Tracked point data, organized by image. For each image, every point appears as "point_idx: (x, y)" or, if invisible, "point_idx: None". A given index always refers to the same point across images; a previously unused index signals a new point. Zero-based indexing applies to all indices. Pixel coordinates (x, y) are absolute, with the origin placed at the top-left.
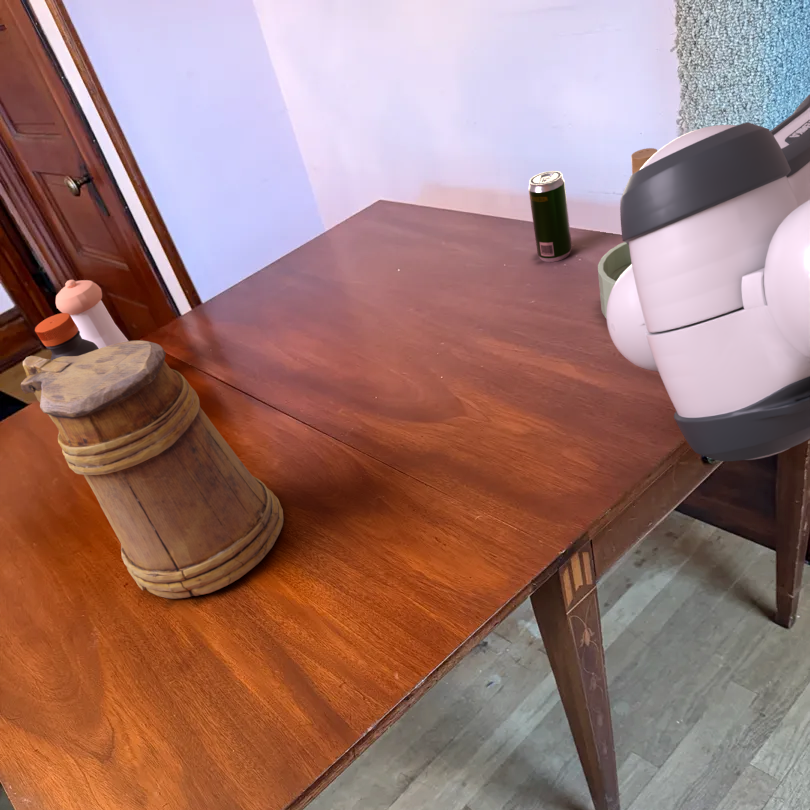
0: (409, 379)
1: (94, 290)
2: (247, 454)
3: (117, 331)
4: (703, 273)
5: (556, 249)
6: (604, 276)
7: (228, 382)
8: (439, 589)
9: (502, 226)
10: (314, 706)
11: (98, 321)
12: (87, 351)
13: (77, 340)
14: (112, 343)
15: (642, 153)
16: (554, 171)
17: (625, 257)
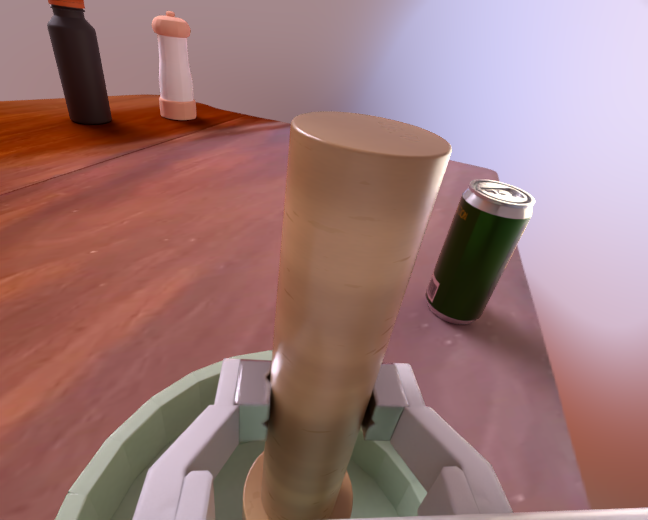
0: (106, 227)
1: (170, 24)
2: (13, 159)
3: (177, 67)
4: None
5: (438, 298)
6: (195, 375)
7: (167, 141)
8: None
9: None
10: None
11: (164, 48)
12: (63, 24)
13: (65, 12)
14: (166, 70)
15: (368, 127)
16: (531, 197)
17: None
